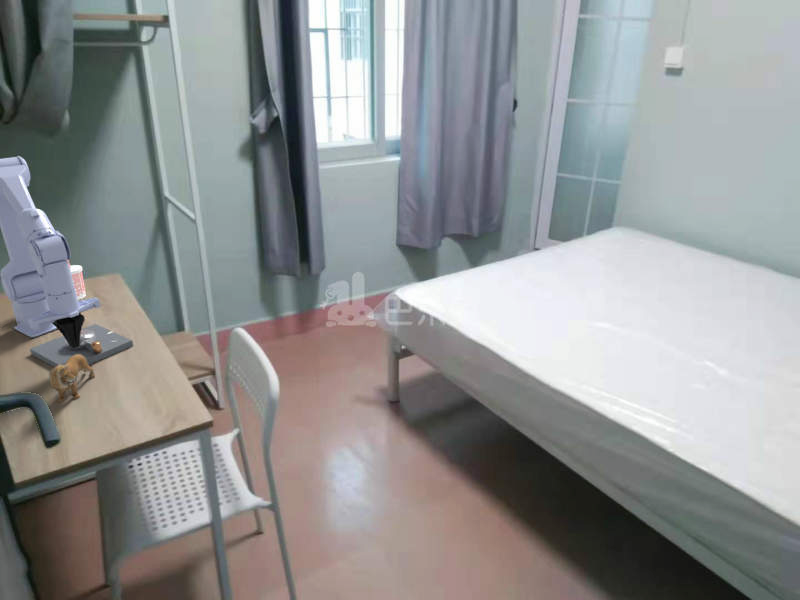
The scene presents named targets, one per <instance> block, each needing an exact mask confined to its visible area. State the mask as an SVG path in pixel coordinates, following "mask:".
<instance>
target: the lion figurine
mask: <svg viewBox="0 0 800 600" xmlns="http://www.w3.org/2000/svg"><path fill="white" fill-rule="evenodd" d="M52 367H53V366H52ZM80 370H83V372H84V373H87V372H89V374H88V378H89V379H93V378H95V373H94V369H93V368H92V366H90V365H88V363H87V361H86V359H85V357H84V356H82V355H80V354H77V355H74V356H72V357H70V358H69V359H68V361H67V363H66V364H65V365H57V366H55V367H53V368H51V369H50V371H49V374H48V376H49V384H50V385H51V387H52V388H51V389H54V390H55V391H57V393H58V395H59V398H58V401H59V402H65V400H66V394H65V393H64V392H66V391H68V390H71V396H72V399H73V400H77V399H79V398H81V397H80V395H79V392H78V389H77V382H78V376H79V372H80Z"/></svg>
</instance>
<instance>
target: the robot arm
mask: <svg viewBox="0 0 800 600" xmlns="http://www.w3.org/2000/svg"><path fill="white" fill-rule="evenodd" d="M30 182H31V172H30V169H29V166H28V163H27V161H26V159H24V158H23V157H22V156H20V155H17V156H13V157H5V158H0V230H1V234H2V237H3V241H4V245H5V248H6V250H7V255H8V258H9V262H7V264H6V265H5V266H3V268H2V269H1V270H0V278H1V286H2V288H3V289H2V290H3V291H4V295H5V296H6V297H7V299H8V300H9V301H11V306H12V307H11V308H12V310H13V314H14V317H15V320H16V325H15V326H14V327H13V329H14V330H16V331H18V332H20V333H22V334H23V335H25V336H28V337H29V338H36V337H39V336H42V335H44V334H47V333H50V332H52V331H55V330H58V331H59V332H60V333H61V334H62V336H64V337H65V339H66V340H67V342H68V344H69V346H70V347H72V348H76V347H79V346H80V333H81V329H83V325H84V323H85V316H84V315H83V314H82V313H84V312H86V311H90V310H91V309H92V310H93V309H97V308H100V307H102V306H101V302H100V299H99V298H97V297H91V298H86V299H81V300H78V299H77V295H76V291H75V287H74V283H73V279H72V275H71V271H70V267H69V263H70V262H69V263H68V261H67V260H69V261H70V260H71V256H72V253H71V250H70V249H71V248H70V246H69V243H68V241H67V239H66V237H65V236H64V235H63V234H62V233H60V231H59V230H55V228H54V226H53V225H52V223H51V221H50V219H49V218H48V216H47V214H46V212H44V211H43V210H42V209H39V208H37V207H36V205H35V203H34V200H33V199H32V197H31V195H30V191H29V189H28V187H29V186H30Z"/></svg>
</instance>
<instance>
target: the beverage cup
mask: <svg viewBox="0 0 800 600" xmlns="http://www.w3.org/2000/svg"><path fill="white" fill-rule="evenodd" d="M67 261H68V263H69V267H70V271H71V275H72V279H73V283H74V287H75V291H76V295H77V299H78V301H80V300H79V299H81V300H83V299H82V298H84V297H85V296H86V297H87V294H86V293H87V292H86V287H85V282H84V276H83V266H82V265H79V264H77V265H76V264H73V265H71V264H70V260H67ZM86 297H85V298H86ZM85 298H84V299H85Z"/></svg>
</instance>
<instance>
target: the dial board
mask: <svg viewBox="0 0 800 600" xmlns="http://www.w3.org/2000/svg"><path fill="white" fill-rule="evenodd" d="M81 330H92V331H94V333H95V337H96V341H100V344H101V348H102V352H100V353H94V352H92V351H90V350H88V349H86V348H84V349H79V350H70V349H68V348H67V347H66V344H65V340H64V338H65V337H64V336H63V335H62V336H59V337H57V338H54V339H52V340H49V341H47V342H44V343H42V344H41V343H40V344H39V345H36V346H33V347H31V348H29V351H30V355H32V356H34V357H36V358H37V359H39V360H41V361H43V362H44V363H47V364H48V365H50V366H52V367H55V366H57V365H65V364H66V363H67V361H68V359H69V358H70V357H72V356H74V355H77V354H80V355H82V356H84V357H85V359H86V361H87V363H88V365H89V366H90V365H92V364H95V363H97V362H99V361H101V359H102V360H104V359H106V358H109V357H110V356H113V355H116V354H117V353H120V352H123V351H124V350H126V349H129V348H131V347H133V346H134V343H133V340H132V339H131V338H128V337H125V336H123V335H122V334H119V333H117V332H116V331H115V332H114V331H112V330H110V329H108V328H105V327H104V326H101V325H99V324H96V323H93V324H91V325H89V326H86V327H82V329H81ZM94 362H95V363H94Z"/></svg>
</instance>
